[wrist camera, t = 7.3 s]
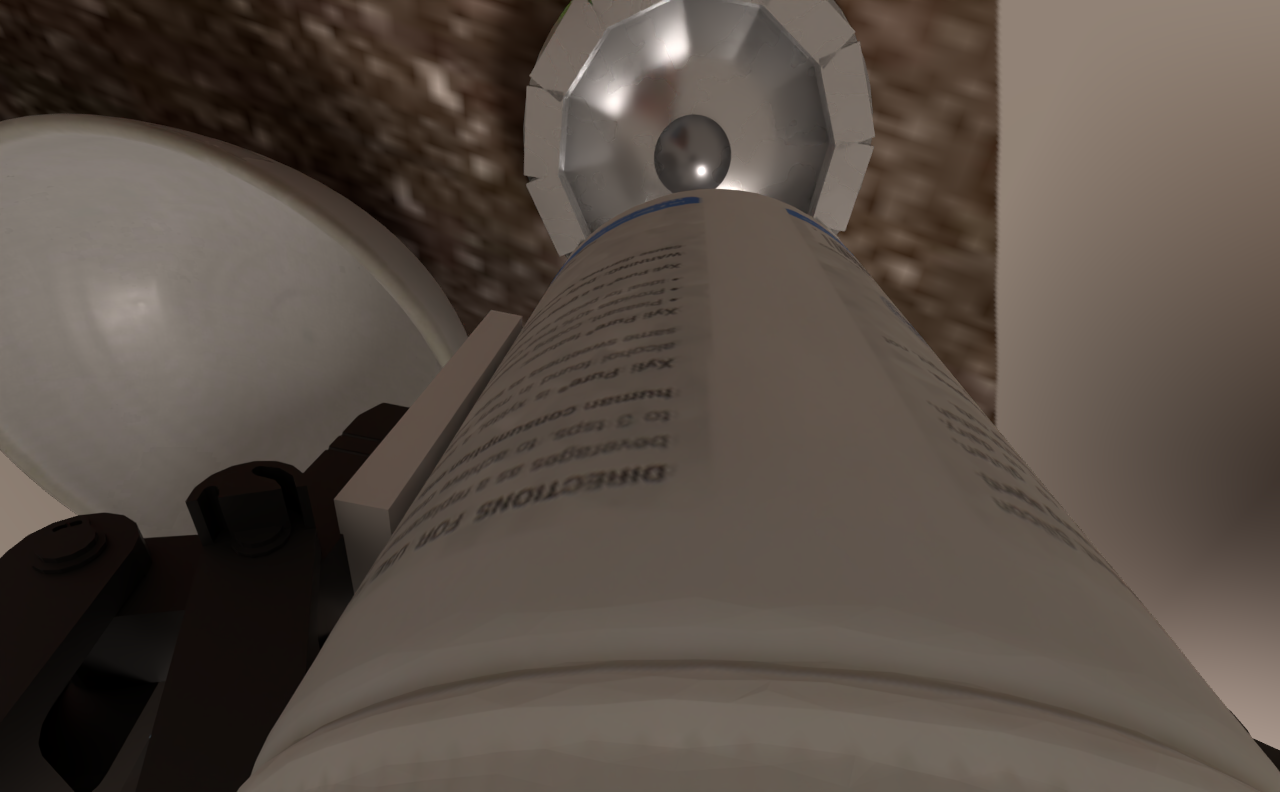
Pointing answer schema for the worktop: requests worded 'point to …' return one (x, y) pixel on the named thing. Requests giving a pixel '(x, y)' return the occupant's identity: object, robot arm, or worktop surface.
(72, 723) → the robot arm
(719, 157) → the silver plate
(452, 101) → the worktop surface
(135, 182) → the decorative bowl
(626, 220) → the supplement tub
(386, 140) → the worktop surface
